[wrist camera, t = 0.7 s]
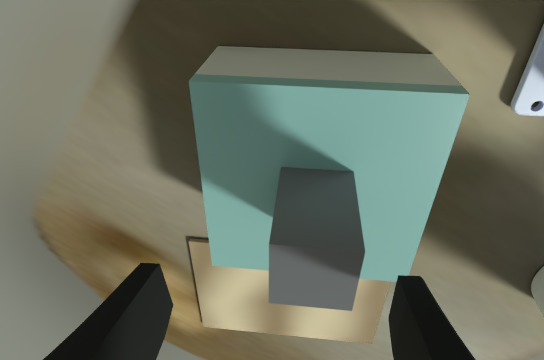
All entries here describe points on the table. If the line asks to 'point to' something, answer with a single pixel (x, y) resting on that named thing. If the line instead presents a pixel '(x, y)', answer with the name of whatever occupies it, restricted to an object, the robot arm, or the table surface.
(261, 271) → the cork mat
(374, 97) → the lid
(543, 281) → the mug
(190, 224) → the table surface
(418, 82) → the storage box
